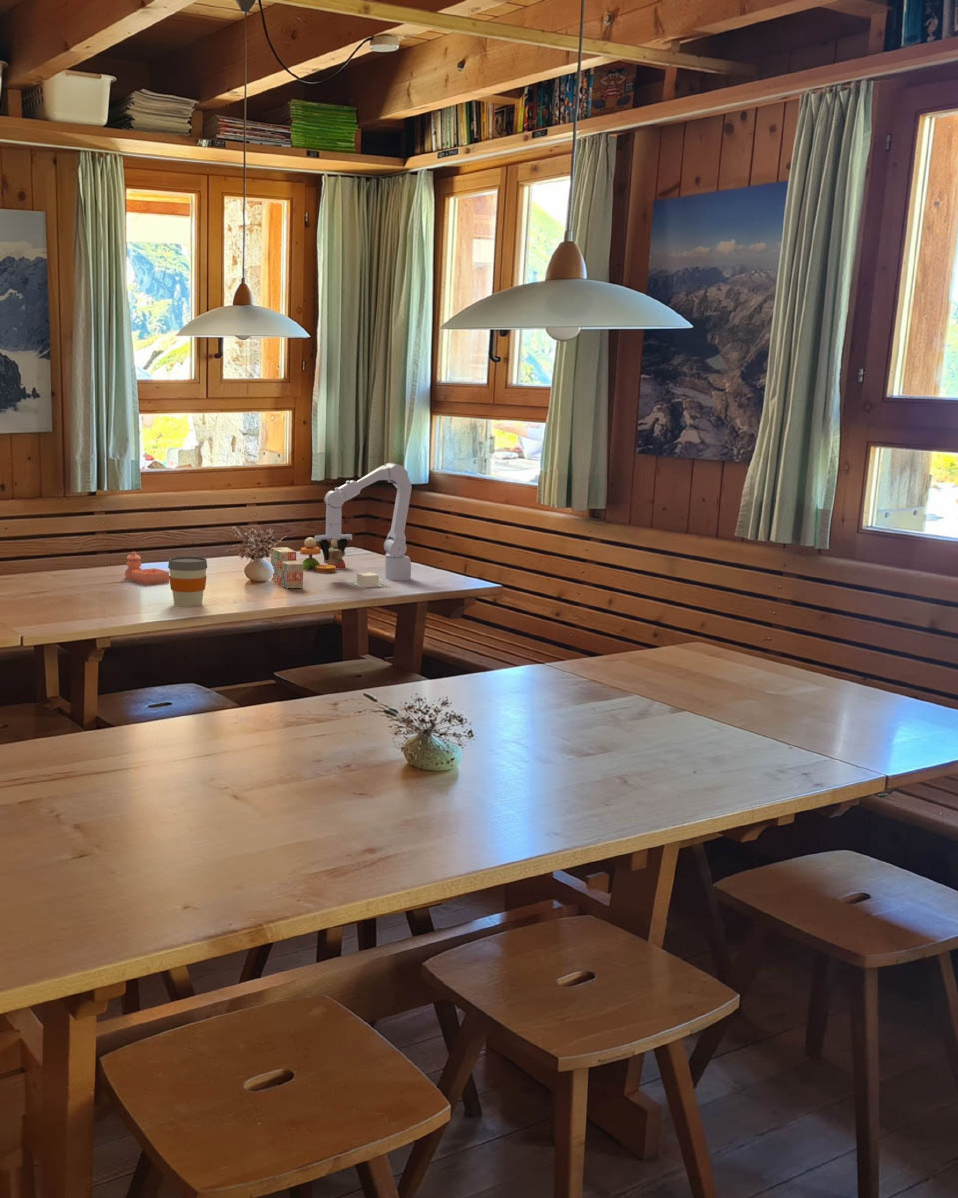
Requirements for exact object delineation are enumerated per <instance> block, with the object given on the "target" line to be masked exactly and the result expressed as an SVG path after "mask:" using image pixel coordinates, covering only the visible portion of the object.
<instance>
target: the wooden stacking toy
mask: <svg viewBox="0 0 958 1198" xmlns="http://www.w3.org/2000/svg"><path fill="white" fill-rule="evenodd" d="M332 539H340V538H332ZM330 541H331V542H330V545H331V547H329V549H338V546H337V540H330ZM303 544H304V545H303V546H304V547H301V549H300V553H299V554H300V555H303V556H304V555H305V556H308V557H307V558H305V559H304V560H303V561H302V562H301V563H303V564H304V567H303V570H304V569H308V570H309V569H313V568H315V567H316V568H315V571H316V572H317V571H319V572H333V573H335V572H334V571H336V569H335V568H345V569H346V568H347V566H346V561H345V560H344V559H343V558H342V564H335V565H329V564H320V562H319V561H318V560H317V559H316V558H314V557H313V556H314V555H320V554H321V553H322V552H321V551H322V550H321V547H318V546H317V541H315V537H310V536H309V537H307V538H306V539H304V543H303ZM345 555H346V551H345V550H344V553H343V557H344V556H345ZM319 572H318V573H319Z"/></svg>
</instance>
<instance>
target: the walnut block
mask: <svg viewBox="0 0 958 1198" xmlns="http://www.w3.org/2000/svg"><path fill="white" fill-rule="evenodd" d="M342 559H343V557H342V551H341V550H338V549H330V548H329V558H328V560H324V559H323V563H324V564H325V565H328V564H329V565H335V564H342Z"/></svg>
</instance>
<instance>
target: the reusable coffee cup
mask: <svg viewBox="0 0 958 1198" xmlns="http://www.w3.org/2000/svg"><path fill="white" fill-rule="evenodd" d="M207 562H208V561H207V558H206V557H201V556H189V555H188V556H184V555H183V556H174V557H171V558H169V559H168V565H167V567H168V569H169V586H170V590H171V591H172V597H173V604H175V605H174V606H176V605H177V607H184V608H185V607H186V608H188V607H189V608H190V607H197V606H198V607H199V606H202V604H203V597H204V591H205V590H206V583H207V569H208V563H207Z"/></svg>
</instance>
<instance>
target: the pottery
mask: <svg viewBox="0 0 958 1198" xmlns="http://www.w3.org/2000/svg"><path fill="white" fill-rule="evenodd" d="M126 559H127V562H126V566H127V567H128V568H127V569H126V570H125V572H124V577H125V579H126V580H131V583H136V584H139V585H144V586H151V585H153V586H154V585H160V584H167V583H169V584H170V579H169V576H170V570H169V571H168V570H164V569H160V568H156V567H152V568H144V569H142V568H141V567H142V561H141V555H139V554H137V552H136V551H131V553H130V554H128V555H127V556H126Z"/></svg>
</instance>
